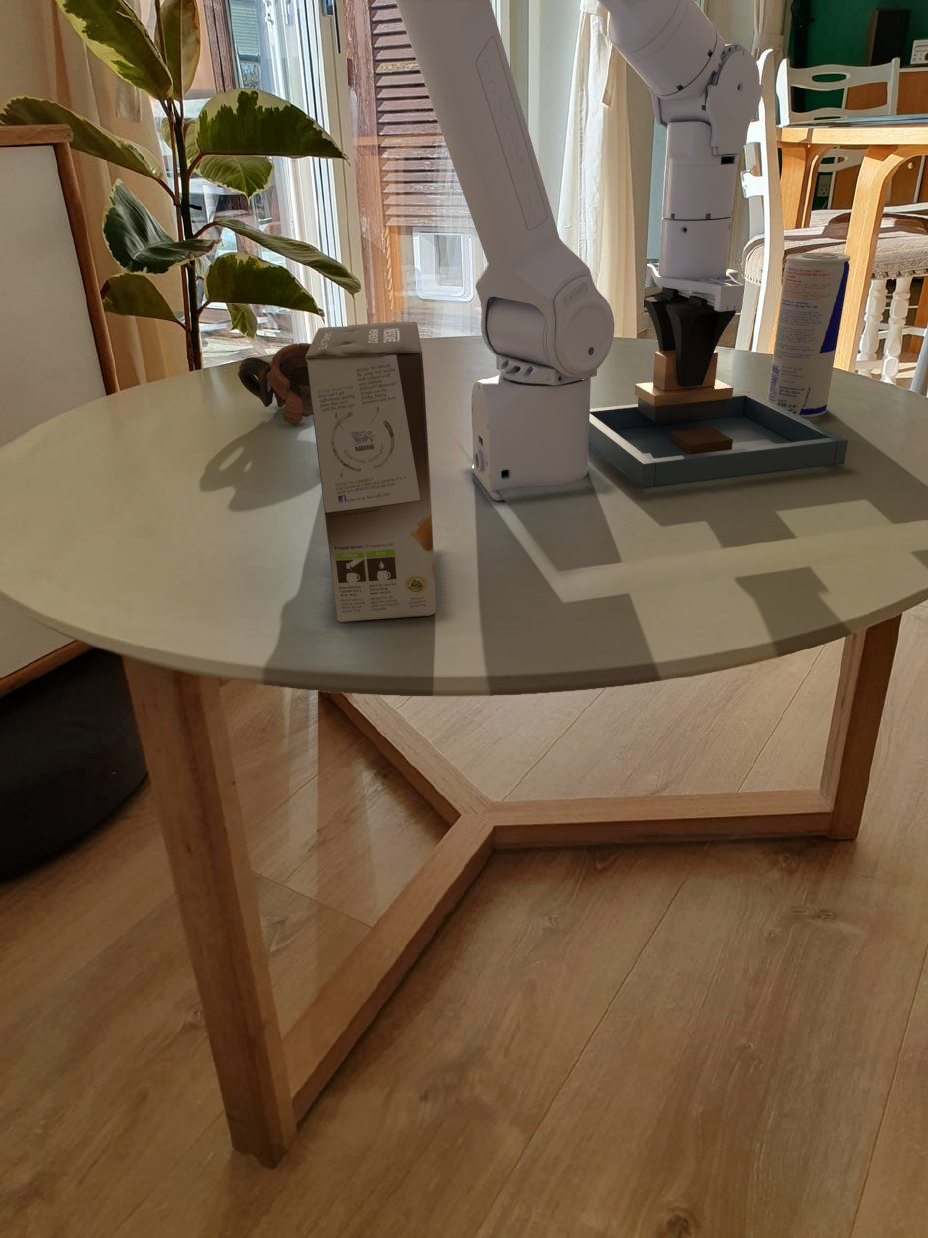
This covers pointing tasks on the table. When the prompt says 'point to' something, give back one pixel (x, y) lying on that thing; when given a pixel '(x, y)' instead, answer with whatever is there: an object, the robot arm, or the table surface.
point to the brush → (681, 392)
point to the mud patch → (701, 440)
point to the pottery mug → (281, 381)
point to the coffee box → (374, 468)
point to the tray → (758, 448)
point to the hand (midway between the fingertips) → (683, 381)
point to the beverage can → (808, 331)
